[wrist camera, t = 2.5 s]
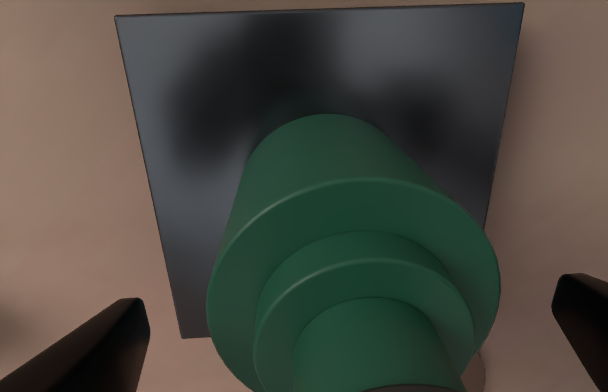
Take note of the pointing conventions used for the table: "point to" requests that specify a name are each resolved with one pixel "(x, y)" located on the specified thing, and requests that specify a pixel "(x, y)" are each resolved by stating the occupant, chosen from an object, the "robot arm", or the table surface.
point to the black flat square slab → (307, 105)
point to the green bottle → (348, 268)
